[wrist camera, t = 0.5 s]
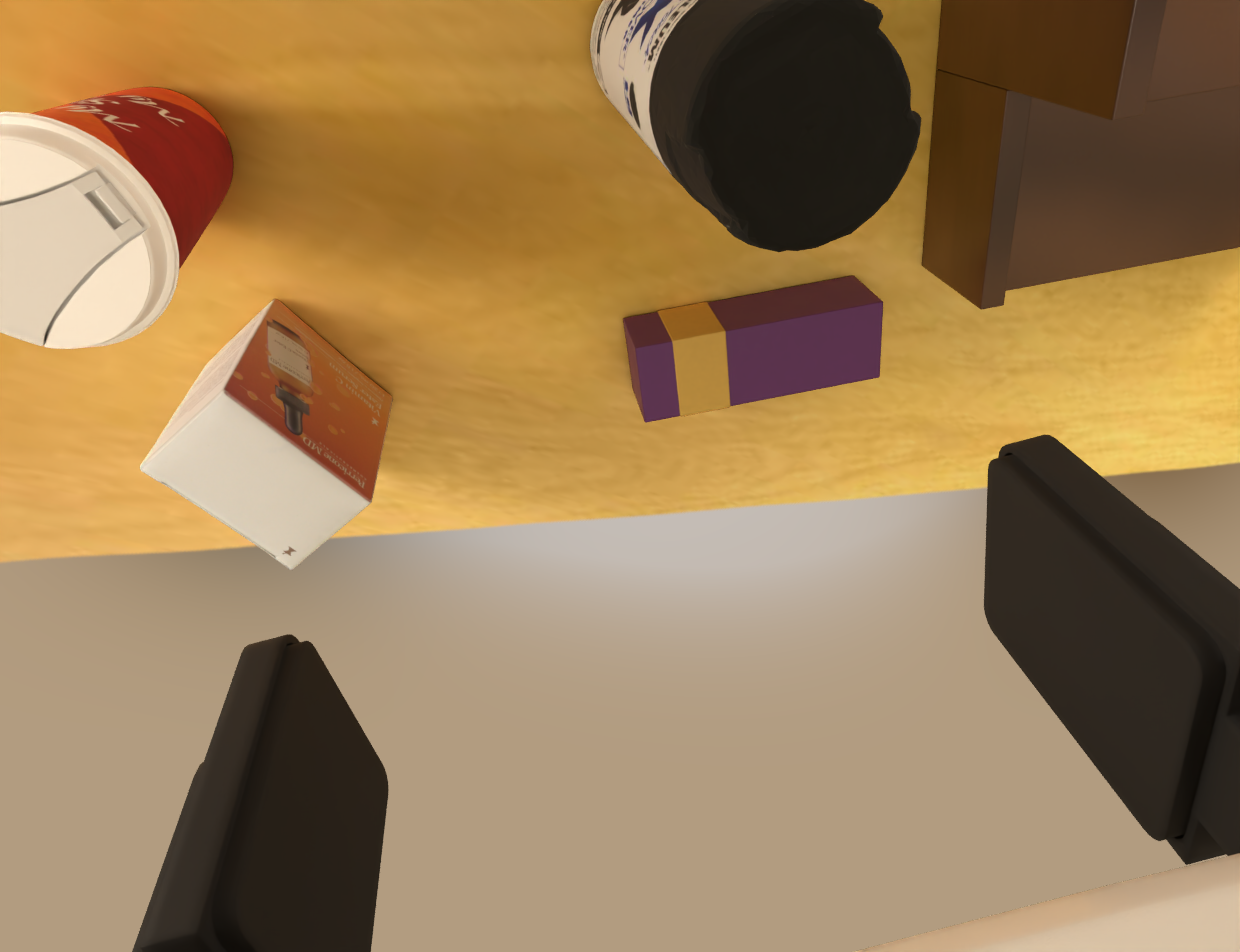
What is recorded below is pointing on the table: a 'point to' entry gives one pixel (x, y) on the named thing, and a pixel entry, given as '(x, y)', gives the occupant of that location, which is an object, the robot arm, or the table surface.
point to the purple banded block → (753, 347)
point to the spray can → (764, 108)
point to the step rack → (1080, 139)
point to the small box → (276, 437)
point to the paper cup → (103, 212)
